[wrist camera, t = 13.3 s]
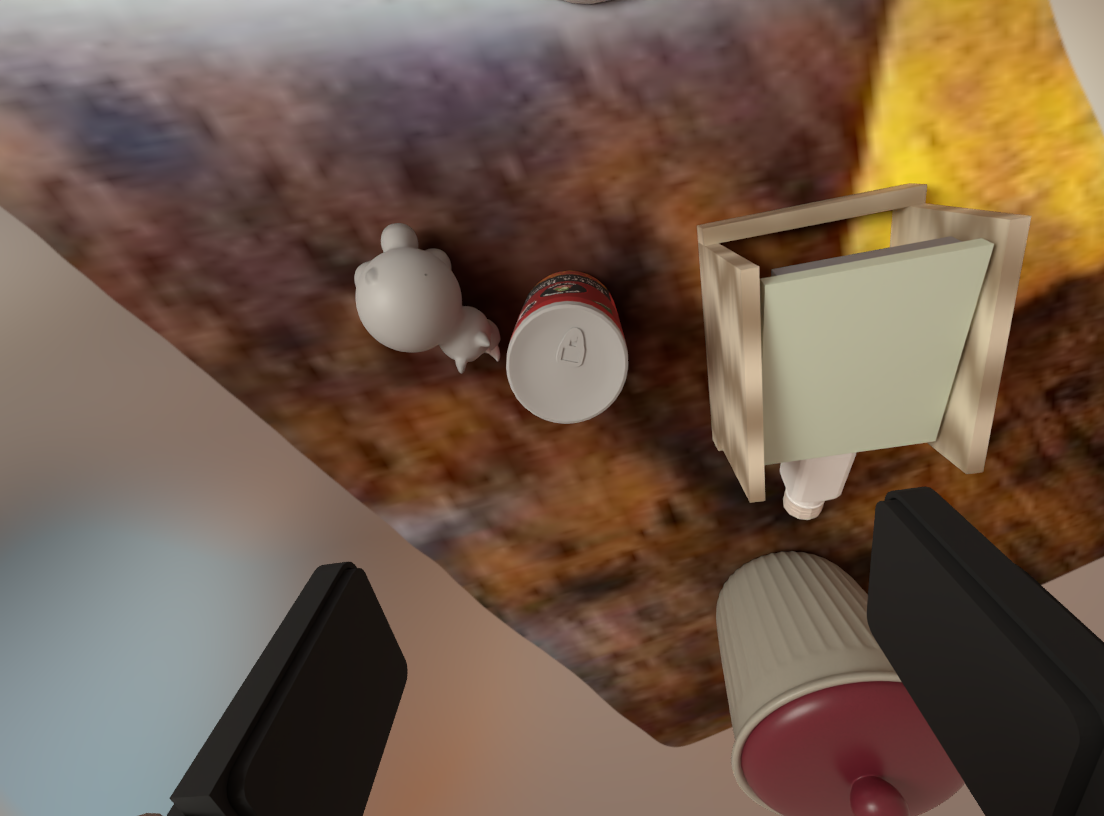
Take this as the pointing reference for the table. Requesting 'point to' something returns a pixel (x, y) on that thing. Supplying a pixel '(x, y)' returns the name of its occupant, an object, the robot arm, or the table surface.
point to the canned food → (567, 349)
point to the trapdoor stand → (980, 367)
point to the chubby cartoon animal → (420, 302)
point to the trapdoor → (865, 346)
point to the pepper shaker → (814, 483)
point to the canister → (820, 698)
